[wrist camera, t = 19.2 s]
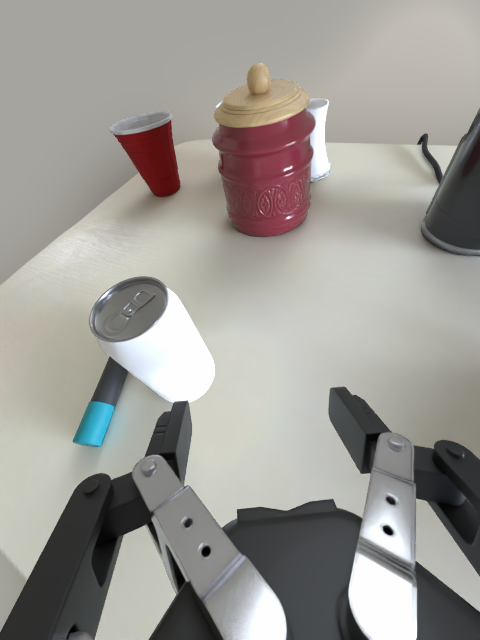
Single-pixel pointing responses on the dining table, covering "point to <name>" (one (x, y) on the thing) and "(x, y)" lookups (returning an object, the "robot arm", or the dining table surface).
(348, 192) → the dining table surface
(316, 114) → the vase
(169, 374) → the can
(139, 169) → the plastic cup
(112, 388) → the marker
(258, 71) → the kitchen canister
